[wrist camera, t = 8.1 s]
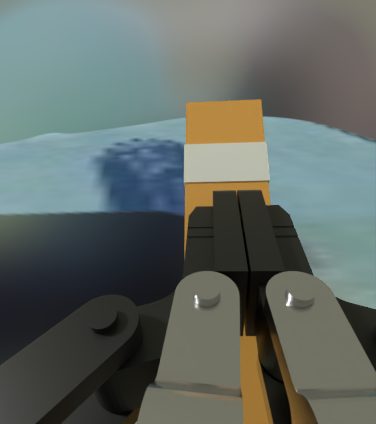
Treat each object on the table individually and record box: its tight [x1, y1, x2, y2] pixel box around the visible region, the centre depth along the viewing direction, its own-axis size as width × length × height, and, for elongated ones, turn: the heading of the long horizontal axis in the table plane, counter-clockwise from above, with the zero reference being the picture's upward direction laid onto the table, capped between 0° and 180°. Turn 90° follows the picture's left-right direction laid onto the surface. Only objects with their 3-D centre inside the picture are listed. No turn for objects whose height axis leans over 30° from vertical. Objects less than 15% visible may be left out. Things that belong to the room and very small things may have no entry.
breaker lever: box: [184, 100, 270, 424], centre depth 10 cm, size 3×2×16 cm
